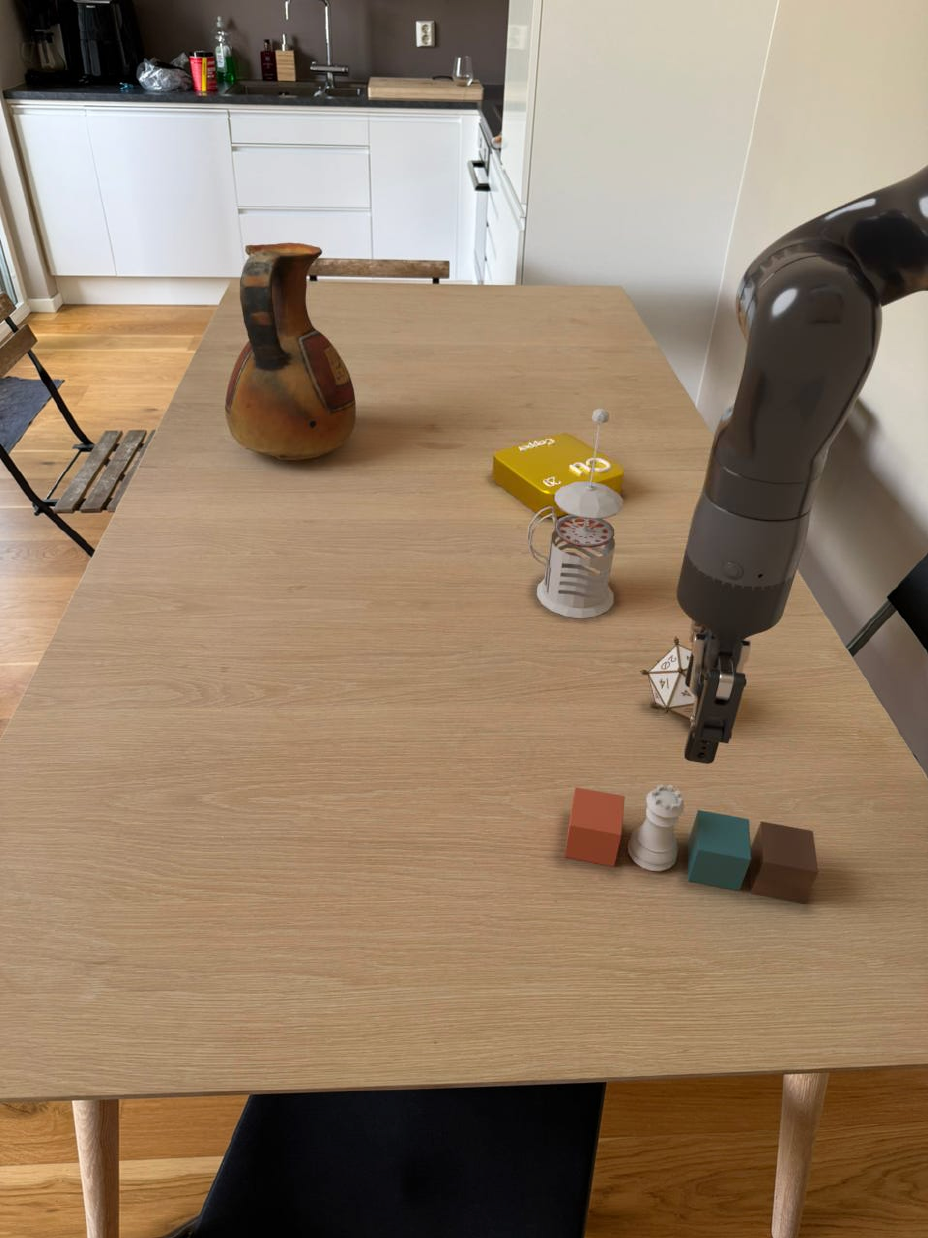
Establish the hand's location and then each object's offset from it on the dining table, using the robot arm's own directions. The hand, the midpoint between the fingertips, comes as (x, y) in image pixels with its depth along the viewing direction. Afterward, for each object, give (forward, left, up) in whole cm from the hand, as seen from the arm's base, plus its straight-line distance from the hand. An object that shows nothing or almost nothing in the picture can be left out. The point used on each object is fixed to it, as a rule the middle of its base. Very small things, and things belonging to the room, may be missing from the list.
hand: (697, 720), depth 71 cm
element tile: (+18, -64, -17) cm, 69 cm away
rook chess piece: (+1, +1, -17) cm, 17 cm away
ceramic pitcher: (+60, -66, -17) cm, 91 cm away
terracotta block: (+6, +1, -17) cm, 18 cm away
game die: (-1, -19, -17) cm, 26 cm away
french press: (+13, -37, -17) cm, 43 cm away
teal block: (-5, +1, -17) cm, 17 cm away
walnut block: (-10, +1, -17) cm, 19 cm away
